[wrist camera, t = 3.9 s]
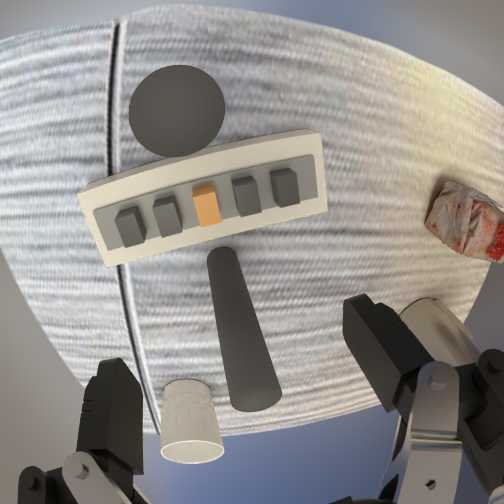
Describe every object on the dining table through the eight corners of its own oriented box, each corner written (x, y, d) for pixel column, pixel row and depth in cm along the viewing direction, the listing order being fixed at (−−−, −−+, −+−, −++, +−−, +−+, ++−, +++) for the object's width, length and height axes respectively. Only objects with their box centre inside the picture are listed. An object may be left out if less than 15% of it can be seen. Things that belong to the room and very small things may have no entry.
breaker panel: (306, 128, 25) (333, 136, 20) (315, 199, 28) (339, 221, 24) (87, 184, 23) (66, 204, 19) (113, 251, 27) (101, 282, 22)
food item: (414, 230, 33) (467, 272, 25) (435, 170, 30) (497, 200, 21) (468, 243, 37) (512, 276, 28) (486, 195, 33) (535, 223, 25)
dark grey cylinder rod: (233, 243, 29) (279, 378, 15) (239, 269, 30) (284, 404, 17) (203, 251, 29) (225, 392, 15) (211, 276, 30) (237, 416, 16)
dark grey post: (198, 85, 21) (215, 55, 8) (206, 118, 23) (232, 144, 9) (162, 94, 21) (119, 80, 7) (170, 127, 23) (141, 168, 9)
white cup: (202, 370, 37) (211, 435, 28) (221, 399, 41) (232, 457, 32) (149, 383, 36) (149, 446, 28) (173, 410, 40) (177, 466, 32)
